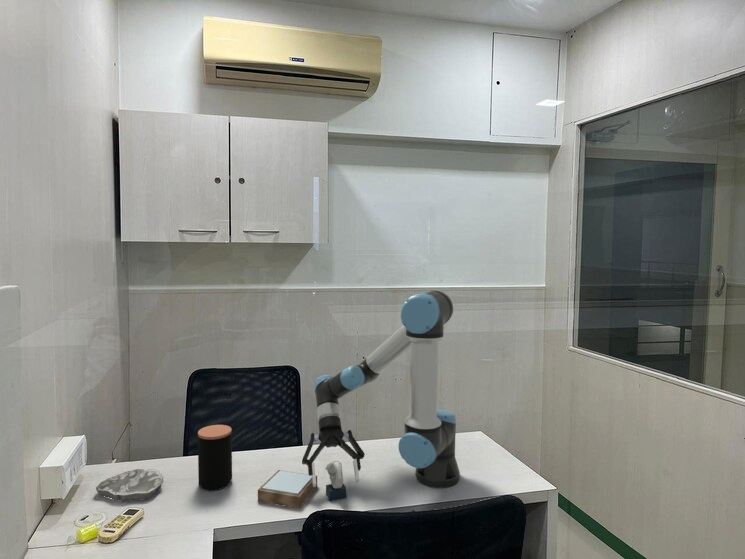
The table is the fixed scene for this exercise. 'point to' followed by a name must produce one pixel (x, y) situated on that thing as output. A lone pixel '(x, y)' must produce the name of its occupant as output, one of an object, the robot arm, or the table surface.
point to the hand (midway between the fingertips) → (336, 483)
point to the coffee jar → (214, 457)
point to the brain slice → (131, 485)
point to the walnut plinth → (287, 489)
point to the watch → (335, 482)
